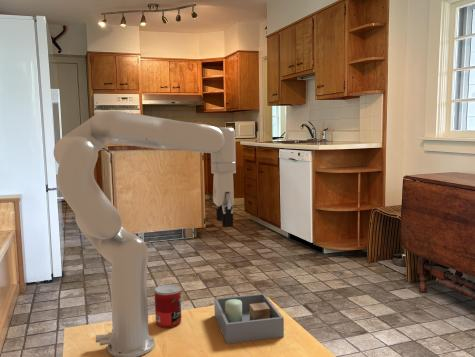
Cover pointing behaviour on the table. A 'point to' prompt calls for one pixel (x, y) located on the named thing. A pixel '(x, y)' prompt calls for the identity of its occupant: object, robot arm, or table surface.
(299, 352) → the table surface
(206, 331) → the table surface
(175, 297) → the canned food
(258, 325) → the tote
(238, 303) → the cylinder
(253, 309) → the cube
